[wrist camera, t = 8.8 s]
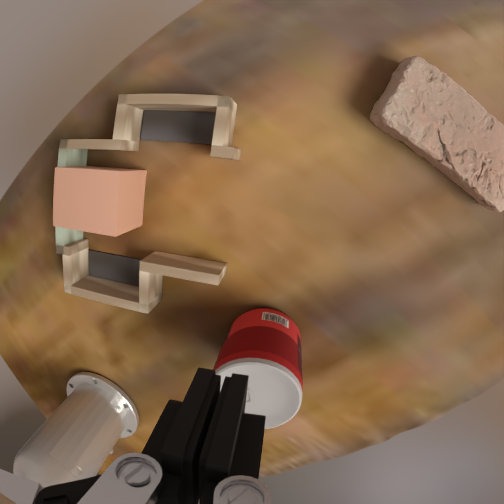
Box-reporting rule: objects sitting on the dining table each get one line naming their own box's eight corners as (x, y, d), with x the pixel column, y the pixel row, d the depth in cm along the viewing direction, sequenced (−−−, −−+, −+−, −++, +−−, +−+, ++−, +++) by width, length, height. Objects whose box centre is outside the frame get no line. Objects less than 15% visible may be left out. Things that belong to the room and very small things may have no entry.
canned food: (217, 317, 35) (189, 374, 25) (286, 295, 34) (283, 349, 23) (244, 372, 37) (228, 437, 26) (309, 353, 35) (314, 419, 25)
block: (142, 225, 34) (115, 236, 28) (84, 216, 34) (52, 225, 29) (147, 170, 32) (119, 171, 27) (87, 165, 33) (55, 167, 27)
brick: (364, 123, 29) (377, 115, 24) (398, 60, 27) (413, 46, 22) (481, 210, 29) (504, 216, 25) (508, 150, 27) (532, 150, 22)
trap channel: (221, 311, 35) (213, 327, 31) (77, 279, 36) (58, 290, 33) (247, 105, 29) (241, 97, 26) (85, 103, 31) (65, 98, 27)
